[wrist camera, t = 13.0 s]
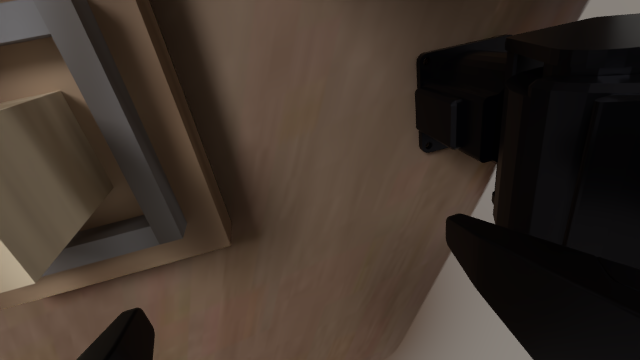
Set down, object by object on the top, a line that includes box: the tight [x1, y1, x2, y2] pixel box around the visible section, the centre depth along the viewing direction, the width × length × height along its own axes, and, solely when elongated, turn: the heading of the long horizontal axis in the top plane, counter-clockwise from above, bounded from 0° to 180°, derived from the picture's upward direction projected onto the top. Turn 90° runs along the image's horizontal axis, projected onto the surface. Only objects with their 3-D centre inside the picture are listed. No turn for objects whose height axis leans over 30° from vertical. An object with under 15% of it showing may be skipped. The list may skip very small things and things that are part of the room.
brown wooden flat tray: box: [0, 0, 232, 310], centre depth 15 cm, size 14×16×4 cm
